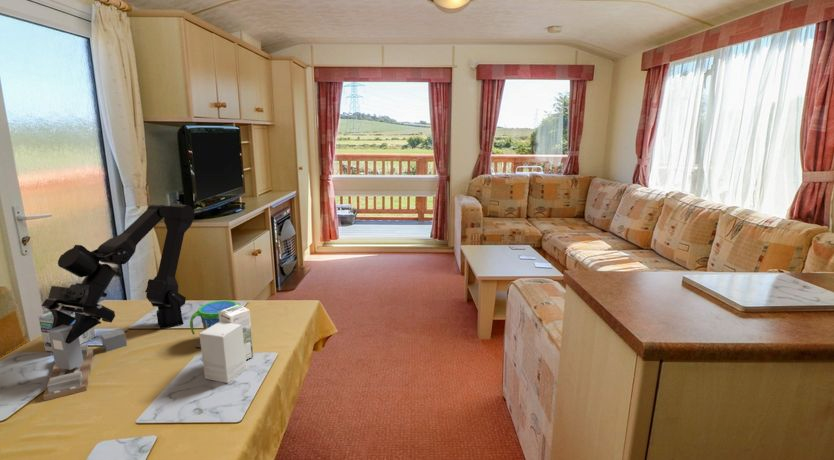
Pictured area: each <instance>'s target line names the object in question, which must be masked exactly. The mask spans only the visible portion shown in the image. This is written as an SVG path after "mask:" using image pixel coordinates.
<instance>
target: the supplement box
mask: <svg viewBox="0 0 834 460" xmlns="http://www.w3.org/2000/svg"><path fill="white" fill-rule="evenodd" d="M198 336H199V343H200V351H201V357H202V365H203V373H204V379H205V380H210V381H215V382H220V383H226V384H229V383H230V382H232V381H233V380H234V379H235V377H236V376H237V377H238V376H240V375H241V374H242V373H243V371H244V370H245V369H246V368H248V367H247V361H246V358H245V349H244V340H243V330H242V325H239V324H232V323H225V322H218V323H216V324H215V325H213V326H211V327H209V328H208V329H206V330H204V329H203V331H200V332H199V333H198ZM246 370H247V369H246ZM246 370H245V371H246ZM245 371H244V372H245ZM241 372H242V373H241ZM240 373H241V374H240ZM239 374H240V375H239ZM237 377H236V378H237ZM232 379H233V380H232Z"/></svg>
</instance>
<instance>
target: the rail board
mask: <svg viewBox="0 0 834 460" xmlns="http://www.w3.org/2000/svg"><path fill="white" fill-rule="evenodd" d="M80 346H81V351H82V356H83V361H84V363H83V364H81V365H79V366H77V367H75V368H73V369H71V370H69V369H64V368H59V367H56V366H55V363H54V364H53V367H52V370H51V373H50V375H49V378H48V382H47V384H46V387H45V390H44V393H43V401H49V400H53V399H56V398H61V397H65V396H70V395H74V394H77V393H81V392H85V391H87V389H88V384H89V380H90V375H91V374H90V373H91V368H92V363H93V360H94V359H93V357H94V354H95V353H94V348H90V349H89V346H88V343H82V344H80Z"/></svg>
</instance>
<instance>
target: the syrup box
mask: <svg viewBox="0 0 834 460" xmlns="http://www.w3.org/2000/svg"><path fill="white" fill-rule="evenodd" d="M239 305H240V304H239ZM239 305H236V306H233V307H230V308H227V309H224V310H222V311H219V312H218V313H219V322H225V323H232V324H239V325H242V330H243V340H244V349H245V358H246V360H247V359H249V358H251V357H253V358H254V350H253V349H254V347H253V337H252V325H251V314H250V313H251V311H250V309H249V308H247V307H245V306H243V305H241V306H239ZM251 359H252V358H251ZM249 360H250V359H249ZM247 361H248V360H247Z"/></svg>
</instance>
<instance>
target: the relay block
mask: <svg viewBox="0 0 834 460" xmlns="http://www.w3.org/2000/svg"><path fill="white" fill-rule="evenodd" d="M100 338H101V342H102V343H101V344H102V347H103V349H104V350H105V351H106V353H107V352H112V351H114V350H117V349H120V348H124V347H127V346H128V343H127V337H126V332H124V330H122V329H121V328H120V329H117V330H113V331H110V332H106V333H103V334H101V335H100Z"/></svg>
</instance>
